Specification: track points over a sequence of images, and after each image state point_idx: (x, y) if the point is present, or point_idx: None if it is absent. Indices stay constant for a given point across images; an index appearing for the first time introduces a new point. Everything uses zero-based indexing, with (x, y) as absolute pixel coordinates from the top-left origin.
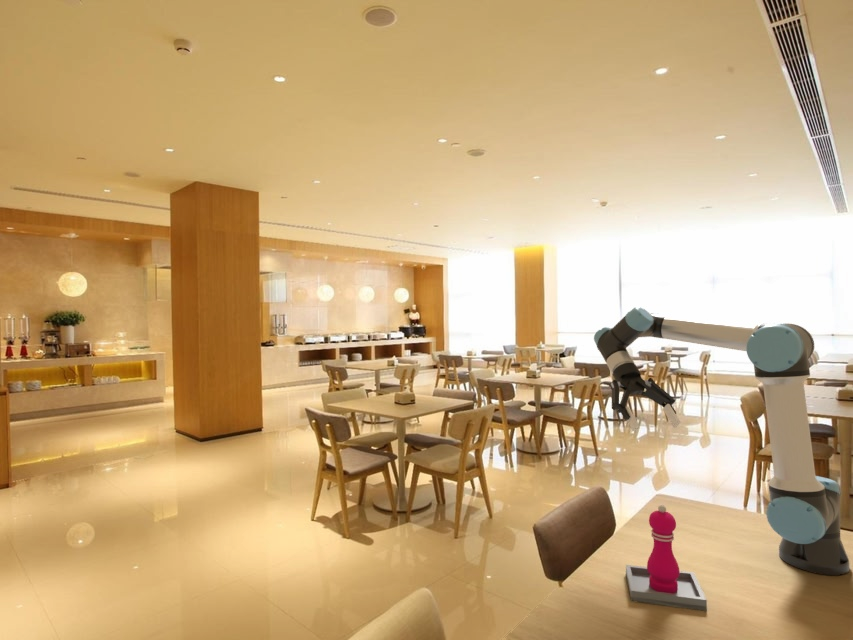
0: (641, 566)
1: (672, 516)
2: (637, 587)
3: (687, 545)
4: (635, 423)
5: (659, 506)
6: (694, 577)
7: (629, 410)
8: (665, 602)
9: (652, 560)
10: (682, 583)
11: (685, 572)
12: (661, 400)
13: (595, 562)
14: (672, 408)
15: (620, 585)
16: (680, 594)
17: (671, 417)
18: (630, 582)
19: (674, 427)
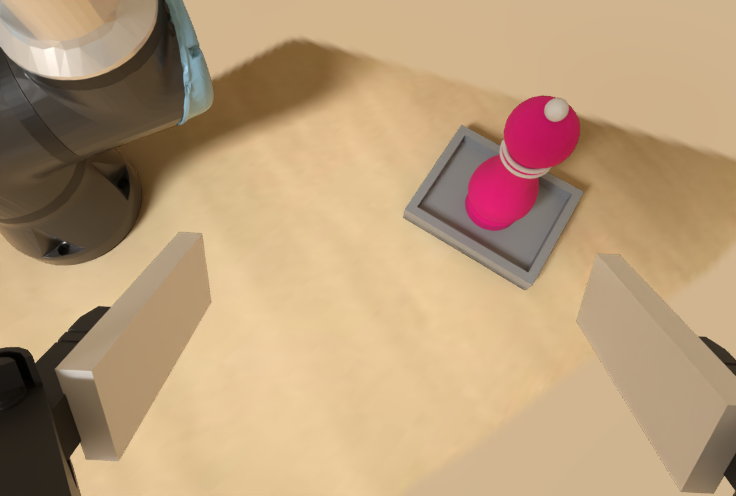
0: (501, 266)
1: (528, 102)
2: (544, 221)
3: (271, 367)
4: (629, 269)
5: (568, 106)
6: (420, 192)
7: (706, 361)
8: None
9: (538, 181)
10: (443, 205)
11: (423, 214)
12: (69, 477)
13: (565, 364)
14: (64, 352)
15: (563, 255)
16: None
17: (176, 314)
18: (567, 217)
19: (208, 296)
